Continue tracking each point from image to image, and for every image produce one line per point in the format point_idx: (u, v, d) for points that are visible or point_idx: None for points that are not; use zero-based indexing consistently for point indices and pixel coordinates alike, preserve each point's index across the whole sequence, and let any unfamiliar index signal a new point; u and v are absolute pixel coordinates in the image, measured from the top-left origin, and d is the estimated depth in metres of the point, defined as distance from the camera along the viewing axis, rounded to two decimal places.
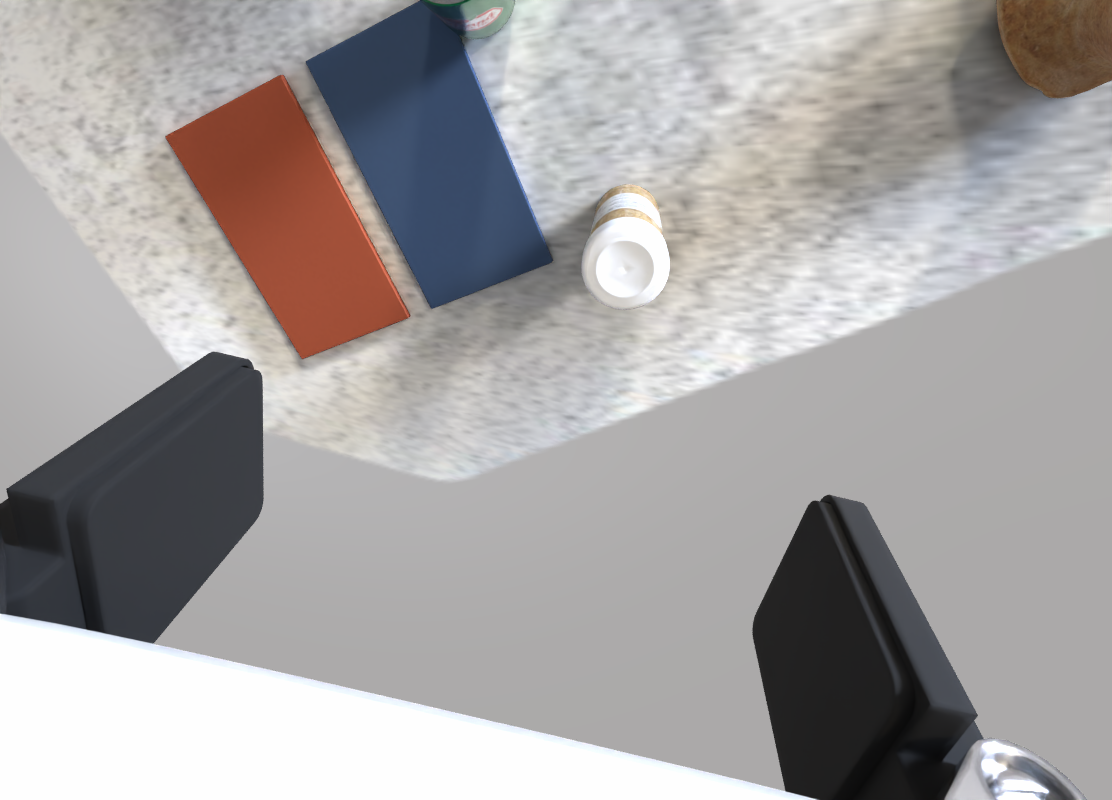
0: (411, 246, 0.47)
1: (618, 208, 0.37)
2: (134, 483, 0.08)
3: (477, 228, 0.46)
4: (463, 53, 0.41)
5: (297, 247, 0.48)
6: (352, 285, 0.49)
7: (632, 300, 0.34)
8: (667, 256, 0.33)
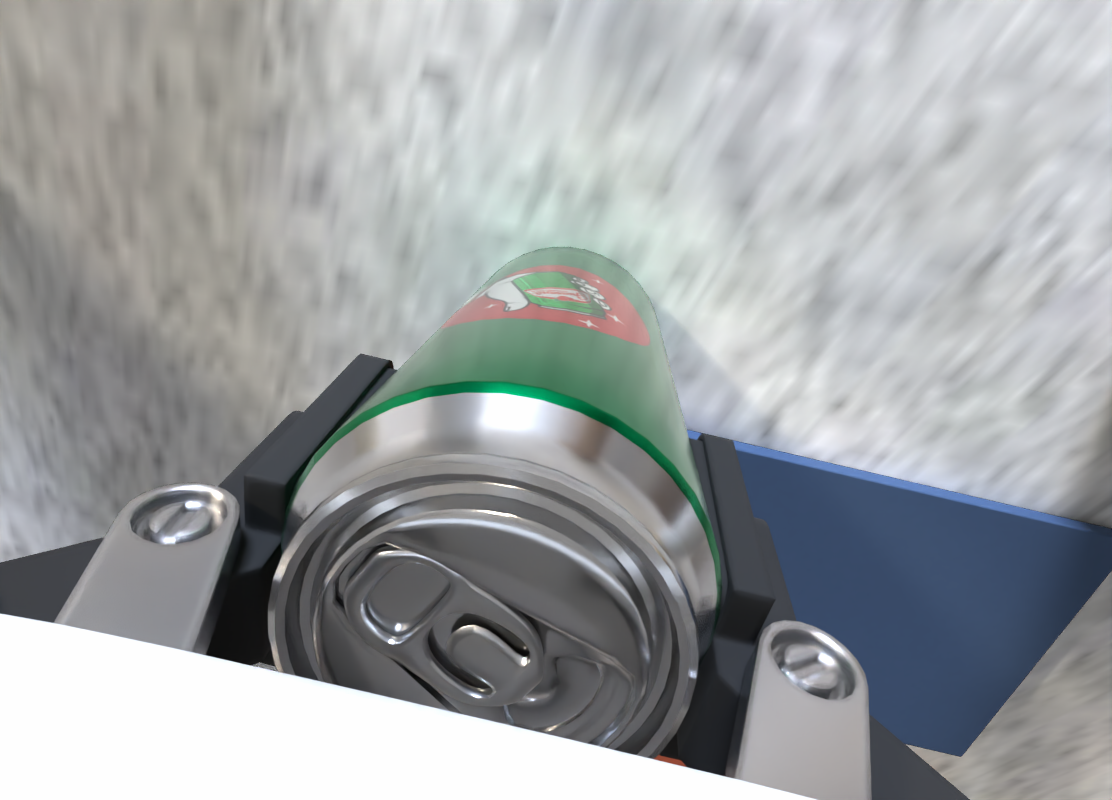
0: None
1: None
2: None
3: (925, 610, 0.20)
4: None
5: None
6: None
7: None
8: None
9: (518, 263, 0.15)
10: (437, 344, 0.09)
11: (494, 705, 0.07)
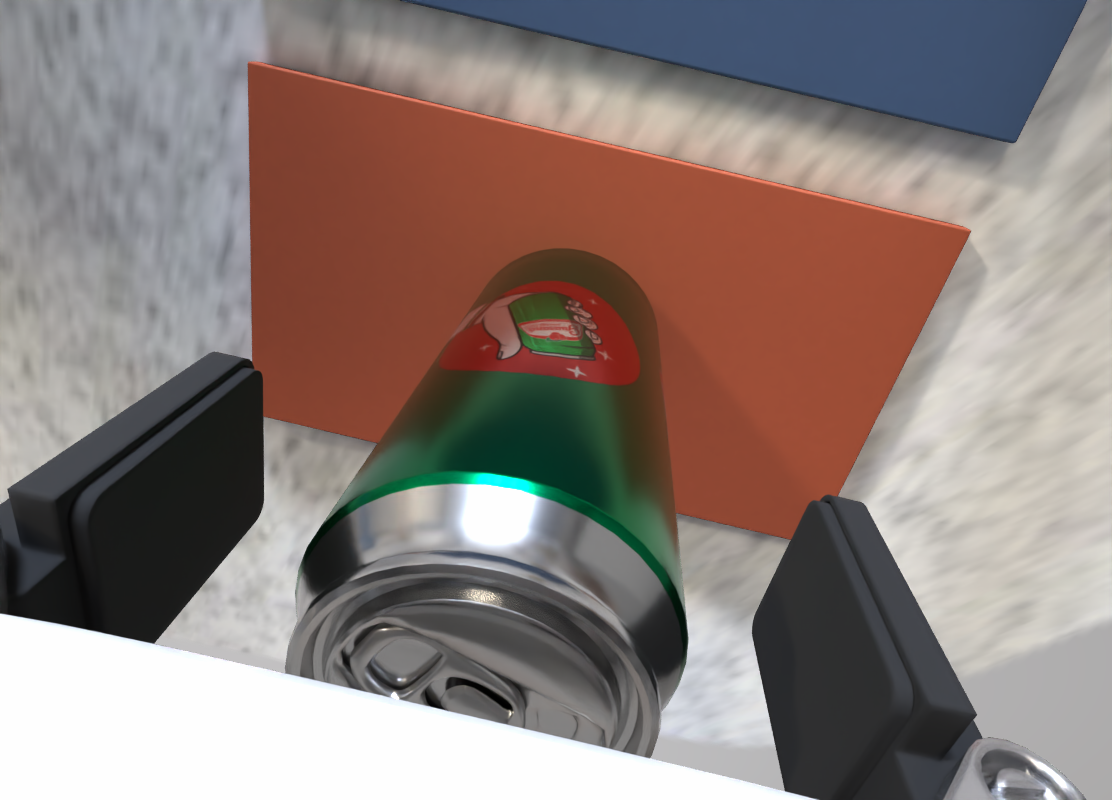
0: (826, 55, 0.14)
1: None
2: (135, 482, 0.08)
3: None
4: None
5: None
6: (776, 303, 0.17)
7: None
8: None
9: (517, 272, 0.15)
10: (433, 400, 0.09)
11: None
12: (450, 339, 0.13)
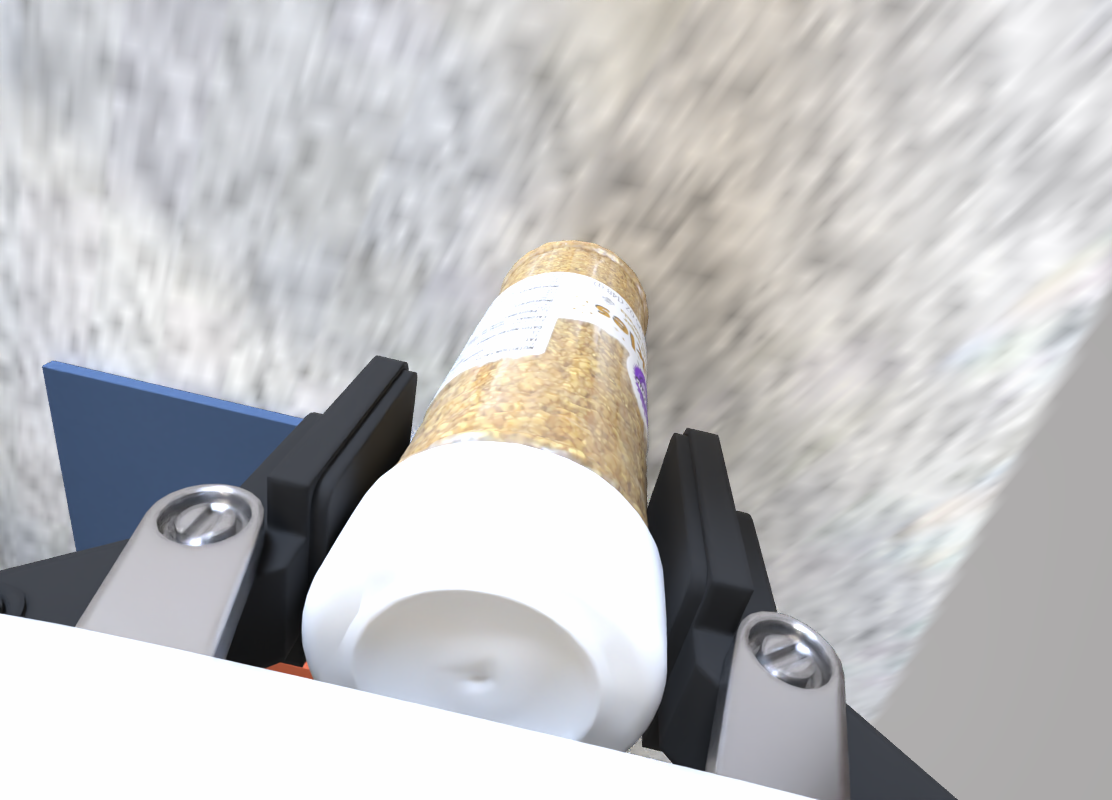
0: None
1: (425, 416, 0.12)
2: (351, 472, 0.09)
3: None
4: (146, 392, 0.22)
5: None
6: None
7: (611, 724, 0.08)
8: (528, 532, 0.07)
9: None
10: None
11: None
12: None
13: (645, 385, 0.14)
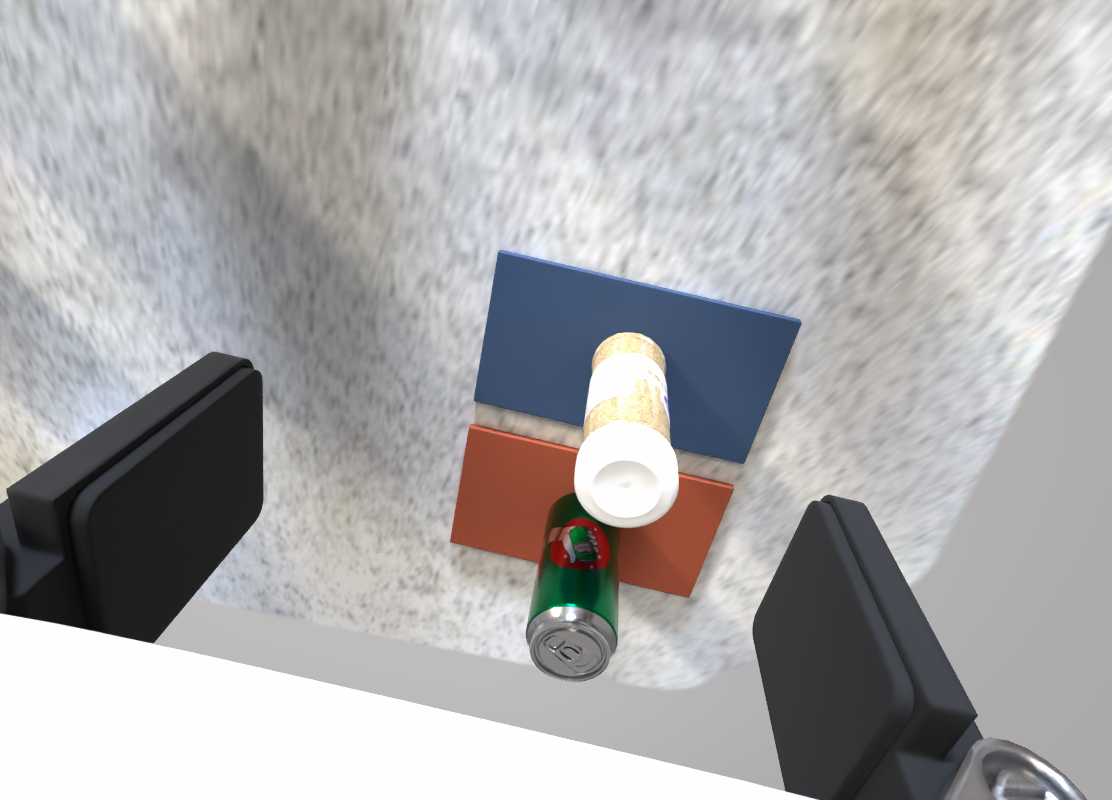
0: (676, 436, 0.42)
1: (586, 415, 0.32)
2: (135, 483, 0.08)
3: (710, 368, 0.39)
4: (559, 267, 0.38)
5: None
6: None
7: (663, 501, 0.28)
8: (643, 444, 0.27)
9: (568, 508, 0.42)
10: (555, 578, 0.37)
11: (572, 662, 0.35)
12: (549, 542, 0.40)
13: (667, 403, 0.34)
